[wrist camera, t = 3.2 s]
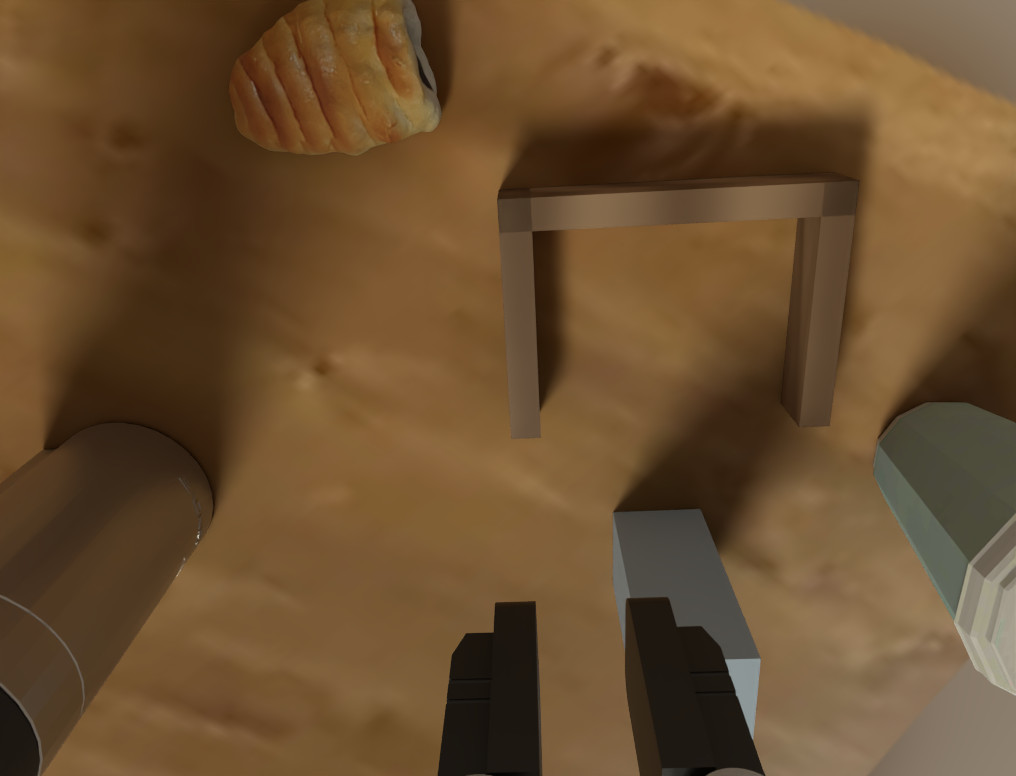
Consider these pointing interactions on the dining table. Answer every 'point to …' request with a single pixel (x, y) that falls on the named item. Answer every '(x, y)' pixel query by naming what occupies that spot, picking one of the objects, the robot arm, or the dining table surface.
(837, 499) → the dining table surface
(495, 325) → the dining table surface
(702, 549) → the slate block
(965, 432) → the disposable coffee cup
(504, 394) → the dining table surface
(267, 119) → the pastry
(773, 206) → the walnut bay
